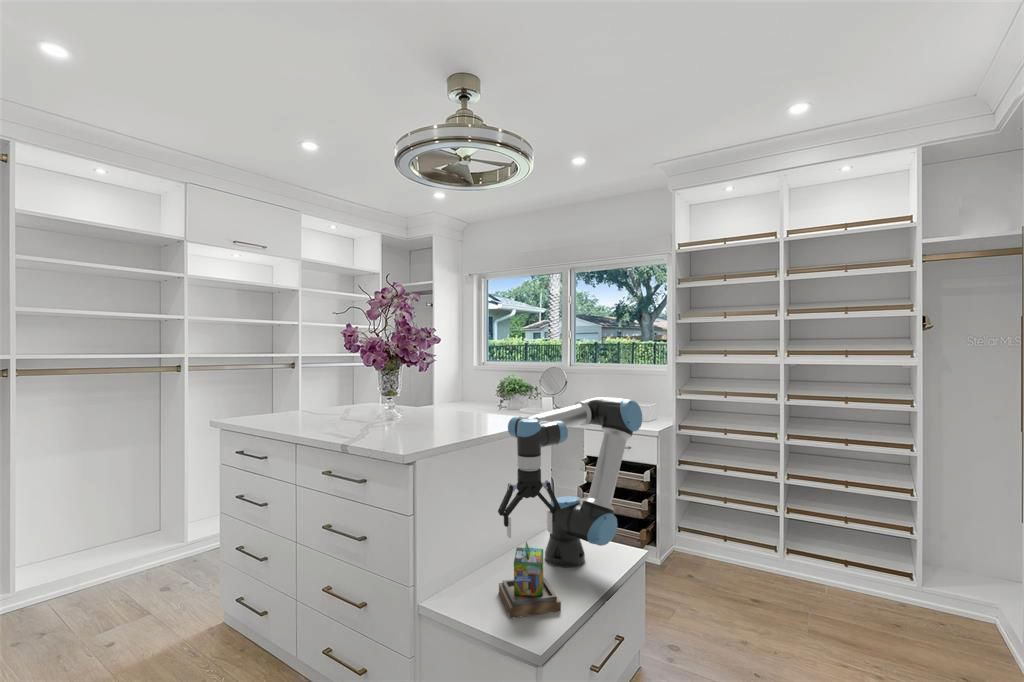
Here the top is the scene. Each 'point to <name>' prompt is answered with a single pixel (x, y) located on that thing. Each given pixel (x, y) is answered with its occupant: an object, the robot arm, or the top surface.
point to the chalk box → (528, 572)
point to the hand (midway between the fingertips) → (529, 534)
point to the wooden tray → (528, 600)
